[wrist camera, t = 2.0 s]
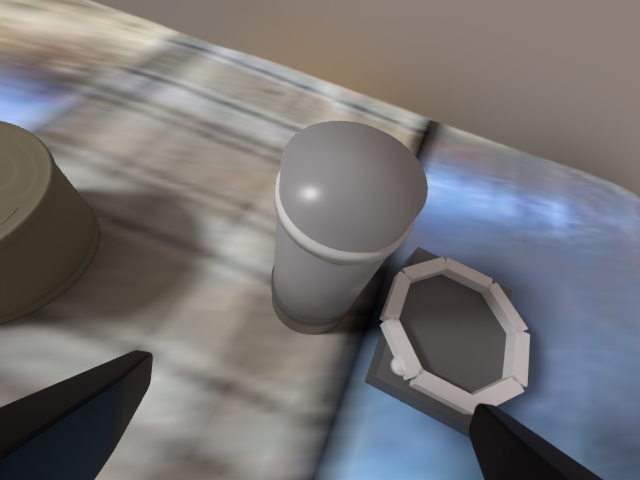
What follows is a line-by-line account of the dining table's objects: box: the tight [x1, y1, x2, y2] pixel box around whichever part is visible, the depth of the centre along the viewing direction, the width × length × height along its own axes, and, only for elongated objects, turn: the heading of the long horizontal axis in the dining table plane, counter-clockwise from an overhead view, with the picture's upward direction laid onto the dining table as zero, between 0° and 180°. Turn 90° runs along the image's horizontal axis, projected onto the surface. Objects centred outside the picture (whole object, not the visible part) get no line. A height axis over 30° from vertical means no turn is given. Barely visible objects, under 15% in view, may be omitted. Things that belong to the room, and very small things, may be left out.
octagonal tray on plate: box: [365, 247, 530, 437], centre depth 22 cm, size 11×10×4 cm
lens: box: [271, 121, 428, 334], centre depth 18 cm, size 6×6×14 cm
